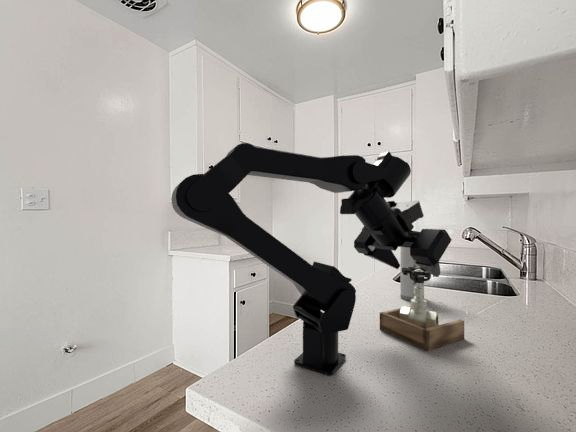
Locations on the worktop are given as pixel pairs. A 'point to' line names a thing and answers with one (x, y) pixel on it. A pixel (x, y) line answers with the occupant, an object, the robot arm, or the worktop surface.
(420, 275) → the valve
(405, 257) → the travel mug
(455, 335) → the tray
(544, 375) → the worktop surface
